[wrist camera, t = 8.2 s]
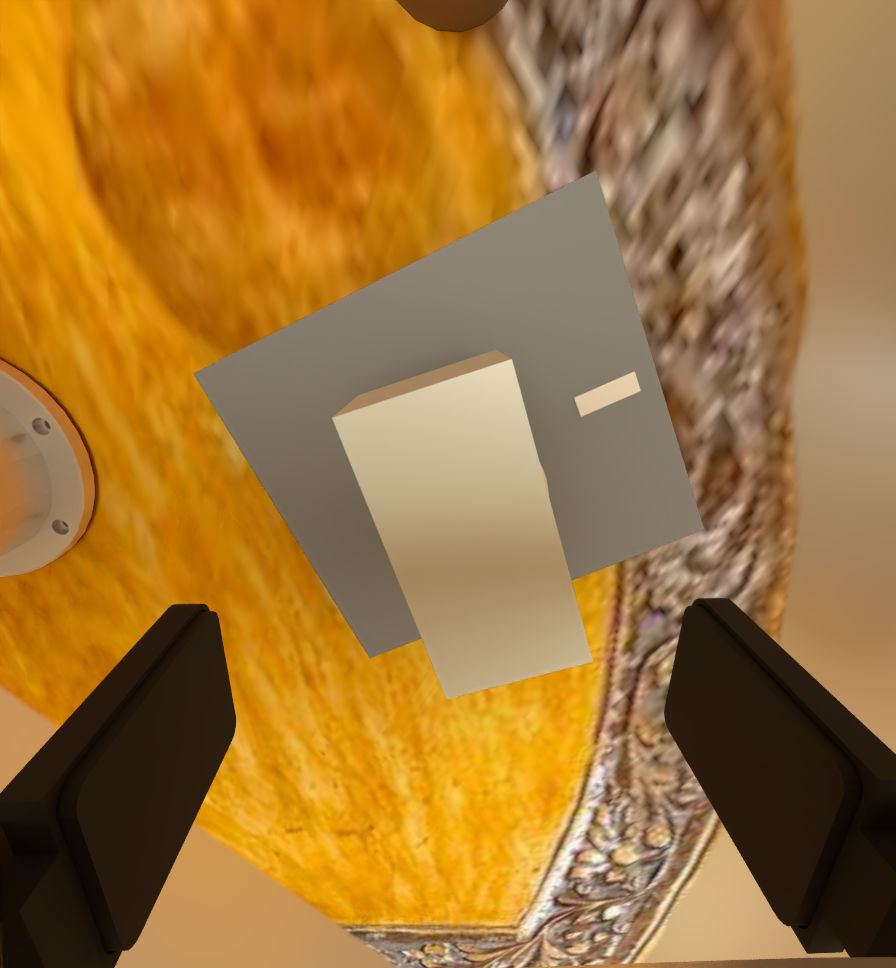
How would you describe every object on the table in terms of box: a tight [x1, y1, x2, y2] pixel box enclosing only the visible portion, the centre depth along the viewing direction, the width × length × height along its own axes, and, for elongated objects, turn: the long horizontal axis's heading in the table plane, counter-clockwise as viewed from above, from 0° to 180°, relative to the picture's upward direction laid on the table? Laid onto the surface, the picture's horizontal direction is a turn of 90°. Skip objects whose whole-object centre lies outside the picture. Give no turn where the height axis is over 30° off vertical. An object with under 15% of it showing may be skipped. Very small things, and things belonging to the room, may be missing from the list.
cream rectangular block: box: [332, 350, 593, 699], centre depth 17 cm, size 10×6×7 cm, turn 18°
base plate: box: [193, 171, 704, 658], centre depth 23 cm, size 20×18×4 cm
